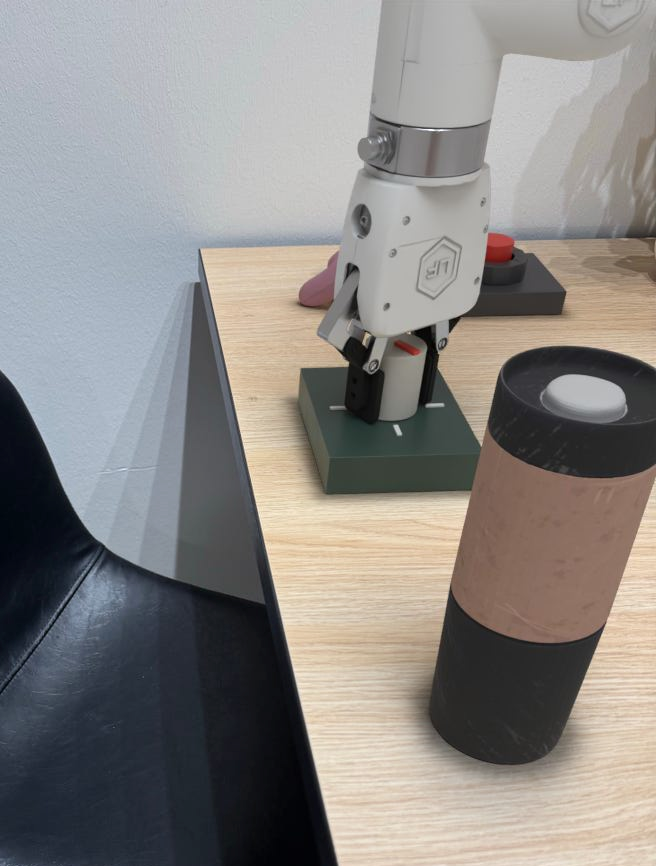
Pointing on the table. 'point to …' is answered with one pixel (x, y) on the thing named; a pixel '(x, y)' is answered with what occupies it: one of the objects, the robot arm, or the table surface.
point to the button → (499, 248)
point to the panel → (386, 440)
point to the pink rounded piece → (320, 285)
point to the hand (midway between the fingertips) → (387, 403)
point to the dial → (401, 376)
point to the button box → (518, 288)
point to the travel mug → (543, 546)
